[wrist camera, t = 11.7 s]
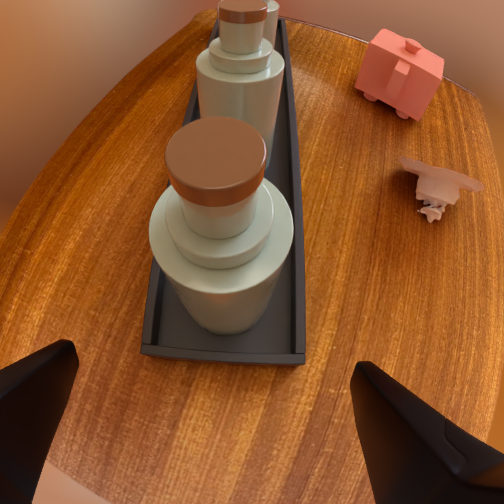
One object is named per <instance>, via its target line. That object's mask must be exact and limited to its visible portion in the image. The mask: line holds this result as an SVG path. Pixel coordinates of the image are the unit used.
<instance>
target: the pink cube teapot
mask: <svg viewBox="0 0 504 504" xmlns="http://www.w3.org/2000/svg"><path fill="white" fill-rule="evenodd" d="M443 66H444V59H442V58H440V57H439V56H437V55H435V54H433V53H432V52H430V51H428V50H426V49H425V48H423V47H422V46H421V45H420V44H419V43H418V42H416V41H414V40H412V39H408V38H406V39H405V38H403V37H401V36H399V35H397V34H395V33H393V32H391V31H389V30H386V29H384V28H383V29H382V30H381V31H380V32H379V33H378V34H377V35H376V36H375V37H374V38H373V39H372V41H371V42H370V43H369V45H368V48H367V51H366V54H365V57H364V60H363V63H362V66H361V69H360V72H359V75H358V78H357V80H356V83H355V86H354V87H355V88H357V89H359V90H361V91H363V92H365V93H364V94H363V95H364V97H365V98H366V99H368V100H370V101H377V99H379V100H381V101H383V102H385V103H387V104H389V105H390V106H392V107H394V108H396V113H397V115H398V116H400V117H401V118H403V119H408V118H409V116H410V117H412V118H413V119H415V120H417V121H418V122H419V121H420V119H421V117H422V115H423V114H424V112H425V110H426V108H427V107H428V105H429V103H430V101H431V99H432V98H433V96H434V94H435V92H436V90H437V88H438V87H439V85H440V83H441V81H442V73H443Z"/></svg>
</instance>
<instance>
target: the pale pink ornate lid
mask: <svg viewBox="0 0 504 504" xmlns="http://www.w3.org/2000/svg"><path fill="white" fill-rule="evenodd" d="M396 160H397V159H396ZM397 161H398V162H400V163H401V164H402V166H403V169H404V170H406V171H409V172H411V173H414V174H416V175H419V179H418V181H417V188H416V199H417V200H424V203H423V204H424V205H427V204H431V205H430V206H427V207H423V208H421V210H420V211H419V210H417V212H421V213H423V214H426V215H427V220H428V222H430V223H431V222H432V221H433V220H434V219H437V220H440V219H441V216H442V213H441V212H445V207H446V205H447V204H452V205H454V204H455V202H456V200H457V199H459V198H460V194H459V188H461V189H465V190H469V191H470V192H475V193H476V192H478V191H484V184H482V183H481V182H480V181H477V180H475V179H471V178H470V177H468V176H467V175H464V174H460V173H458V172H455V171H453V170H449V169H447V168H439V167H434V166H430V165H427V164H425V163H422V162H420V161H419V160H415V161H414V160H413V159H412V158H406V157H404V156H403V157H402V156H401V155H400V158H399V160H397ZM440 205H441V206H442V207H440V208H435V207H437V206H440ZM432 206H435V207H434V208H430V207H432Z"/></svg>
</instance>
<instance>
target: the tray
mask: <svg viewBox="0 0 504 504" xmlns="http://www.w3.org/2000/svg"><path fill="white" fill-rule="evenodd" d="M218 37H219V18H218V17H217V20H216V22H215V25H214V28H213V31H212V33H211V36H210V39H209V42H208V44H207V47H206V49H207V48H209V45H210V43H211V42H212V41H213V40H214V39H216V38H218ZM274 50H275V51H277V52H278V53H279V54H280V55H281V56H282V57H283V59H284V62H285V67H284V74H283V80H282V87H281V93H280V100H279V107H278V113H277V120H276V126H275V133H274V139H273V146H272V152H271V159H270V163H269V166H268V167H267V169H266V170H265V174H264V178H265V179H267V180H268V181H269V182H271V183H272V184H273V185H274V186H275V187H276V188H277V189H278V190H279V191H280V193H281V194H282V195H283V197H284V198H285V200H286V202H287V203H288V206H289V208H290V210H291V214H292V218H293V226H294V230H293V240H292V244H291V247H290V250H289V253H288V255H287V258H286V261H285V263H284V266H283V268H282V271H281V273H280V276H279V278H278V281H277V283H276V286H275V288H274V291H273V293H272V296H271V298H270V301H269V303H268V306H267V308H266V310H265V313H264V314H263V316H262V318H261V319H260V320H259V322H258V323H257V324H256V325H255V326H253V327H252V328H251V329H249V330H247V331H245V332H243V333H241V334H237V335H232V336H221V335H216V334H212V333H210V332H207V331H206V330H204V329H202V328H201V327H200V326H198V325H197V324H196V323H195V322H194V320H193V319H192V318H191V316H190V315H189V313H188V312H187V310H186V309H185V307H184V305H183V304H182V302H181V301H180V299H179V297H178V296H177V294H176V293H175V291H174V289H173V288H172V286H171V284H170V283H169V281H168V279H167V278H166V276H165V274H164V273H163V271H162V269H161V268H160V266H159V264H158V263H157V261H156V259H155V257H154V255H153V260H152V266H151V273H150V279H149V286H148V293H147V300H146V307H145V315H144V323H143V332H142V341H141V343H142V344H141V351H140V353H141V354H143V355H146V356H149V357H153V358H161V359H170V360H180V361H190V362H201V363H214V364H229V365H249V366H291V367H297V366H301V365H304V364H305V351H306V317H305V262H304V233H303V211H302V192H301V176H300V161H299V147H298V134H297V122H296V111H295V101H294V90H293V81H292V72H291V63H290V54H289V46H288V38H287V30H286V23H285V19H281V18H278V22H277V30H276V39H275V47H274ZM198 119H200V111H199V100H198V88H197V77H196V80H195V83H194V87H193V90H192V93H191V96H190V100H189V103H188V107H187V110H186V114H185V117H184V121H183V124H182V127H183V126H185V125H186V124H188V123H190V122H193V121H195V120H198ZM170 185H171V182H170V179H169V180H168V184H167V188H168V187H169V186H170Z"/></svg>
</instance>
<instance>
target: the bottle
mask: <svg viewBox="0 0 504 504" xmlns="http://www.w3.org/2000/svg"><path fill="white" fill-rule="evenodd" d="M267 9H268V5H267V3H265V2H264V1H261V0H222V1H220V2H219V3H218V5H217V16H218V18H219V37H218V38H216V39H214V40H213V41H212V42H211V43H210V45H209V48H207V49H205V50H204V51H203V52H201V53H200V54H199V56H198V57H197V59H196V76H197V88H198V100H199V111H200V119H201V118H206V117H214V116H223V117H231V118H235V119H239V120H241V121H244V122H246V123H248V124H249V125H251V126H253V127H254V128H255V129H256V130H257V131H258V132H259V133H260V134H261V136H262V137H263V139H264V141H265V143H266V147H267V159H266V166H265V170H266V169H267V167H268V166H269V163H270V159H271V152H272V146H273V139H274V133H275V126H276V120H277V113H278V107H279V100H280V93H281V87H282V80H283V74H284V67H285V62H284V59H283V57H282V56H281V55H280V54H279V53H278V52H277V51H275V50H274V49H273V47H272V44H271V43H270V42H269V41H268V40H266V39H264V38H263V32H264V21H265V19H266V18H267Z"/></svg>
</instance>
